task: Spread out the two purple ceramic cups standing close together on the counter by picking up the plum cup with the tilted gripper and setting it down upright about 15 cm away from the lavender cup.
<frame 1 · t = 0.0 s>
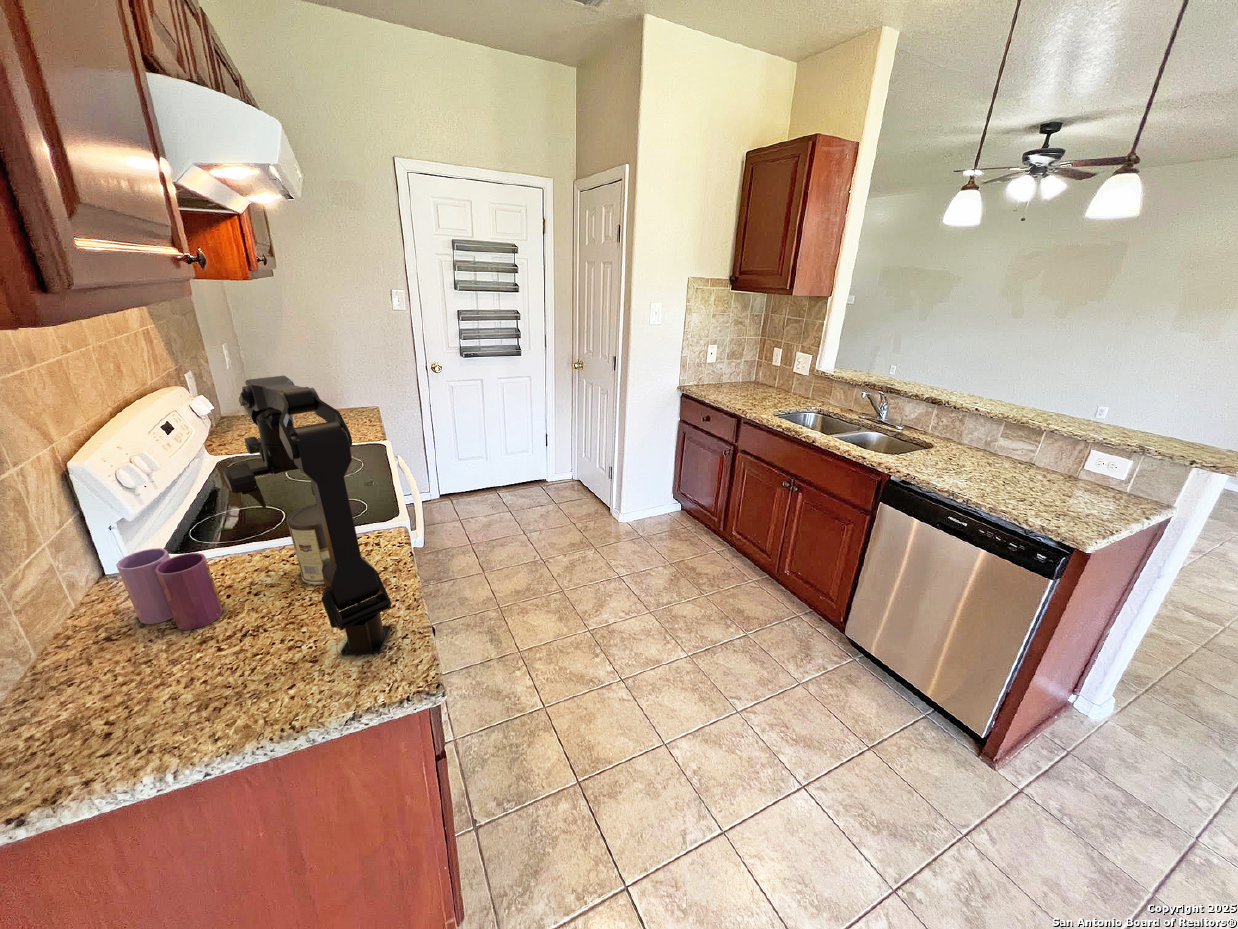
hand: (290, 501, 103), 15 cm above the counter, tool pointing down, fingers open, 9 cm apart
coffee can: (328, 571, 107), on the counter
plum cup: (200, 617, 92), on the counter
lavender cup: (163, 612, 93), on the counter
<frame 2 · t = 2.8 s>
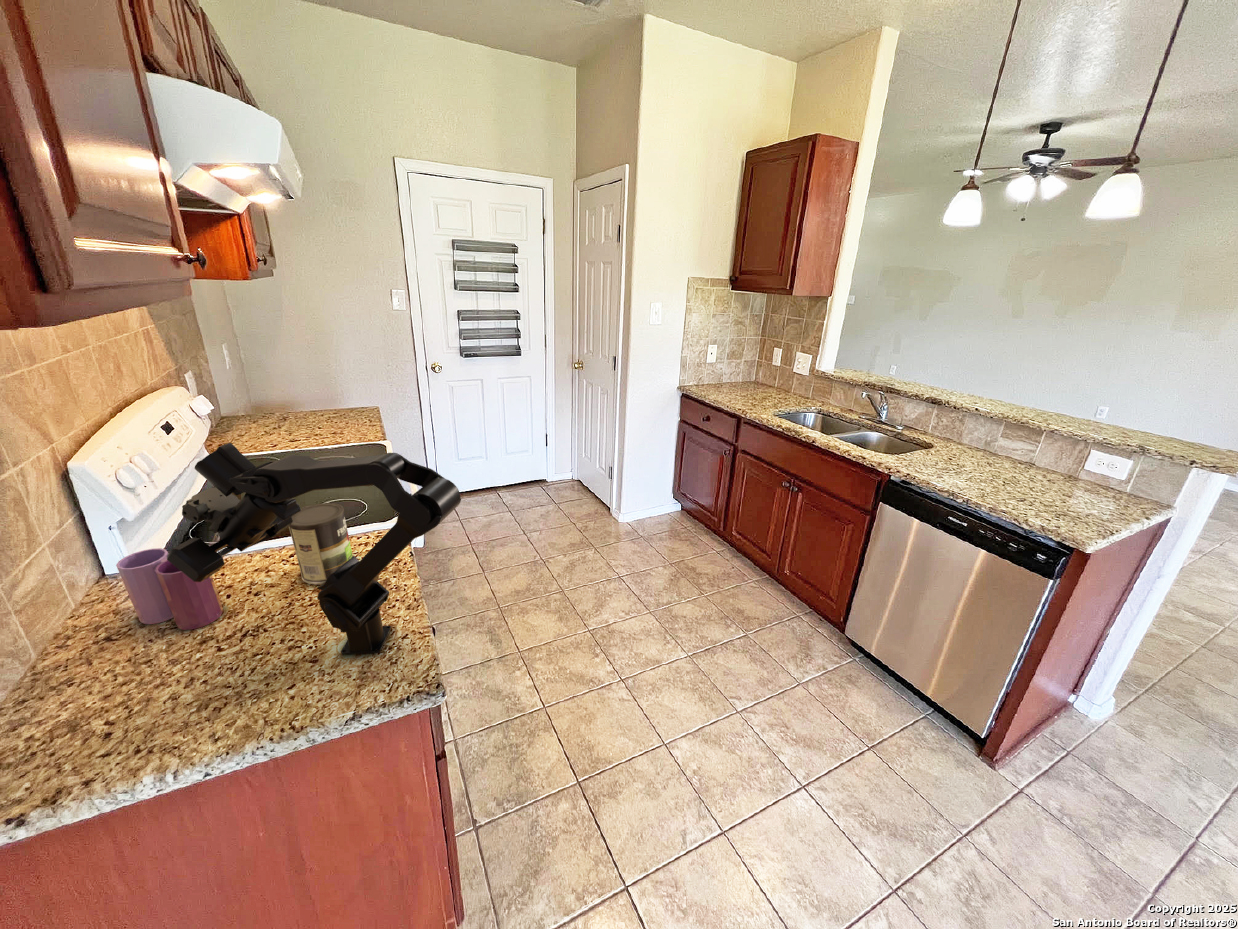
hand: (215, 562, 86), 13 cm above the counter, tool tilted 45°, fingers open, 9 cm apart
nothing on the counter moved.
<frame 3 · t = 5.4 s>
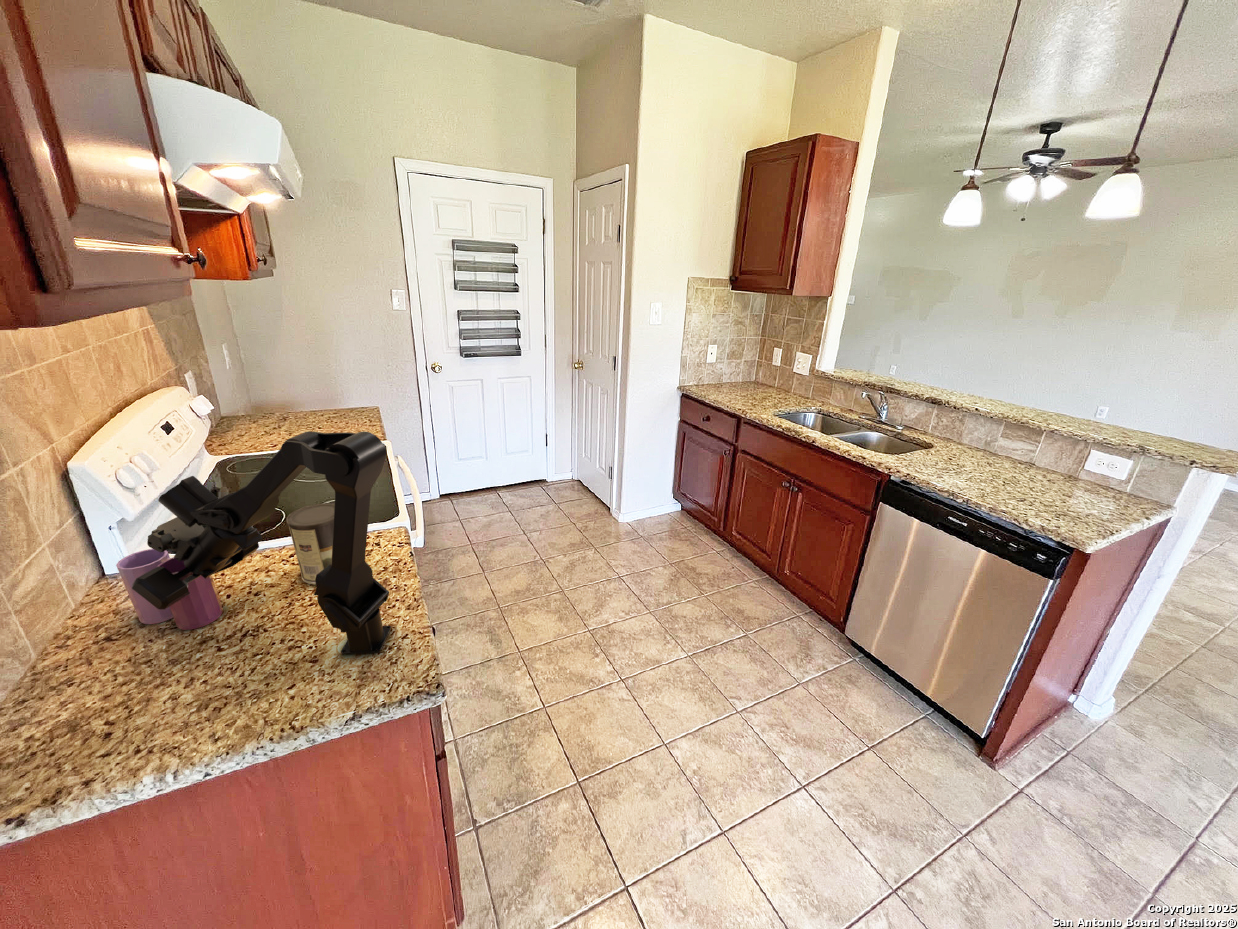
hand: (183, 587, 89), 7 cm above the counter, tool tilted 45°, fingers closed on plum cup, 7 cm apart
plum cup: (200, 617, 92), on the counter, touching gripper
everything else where it was.
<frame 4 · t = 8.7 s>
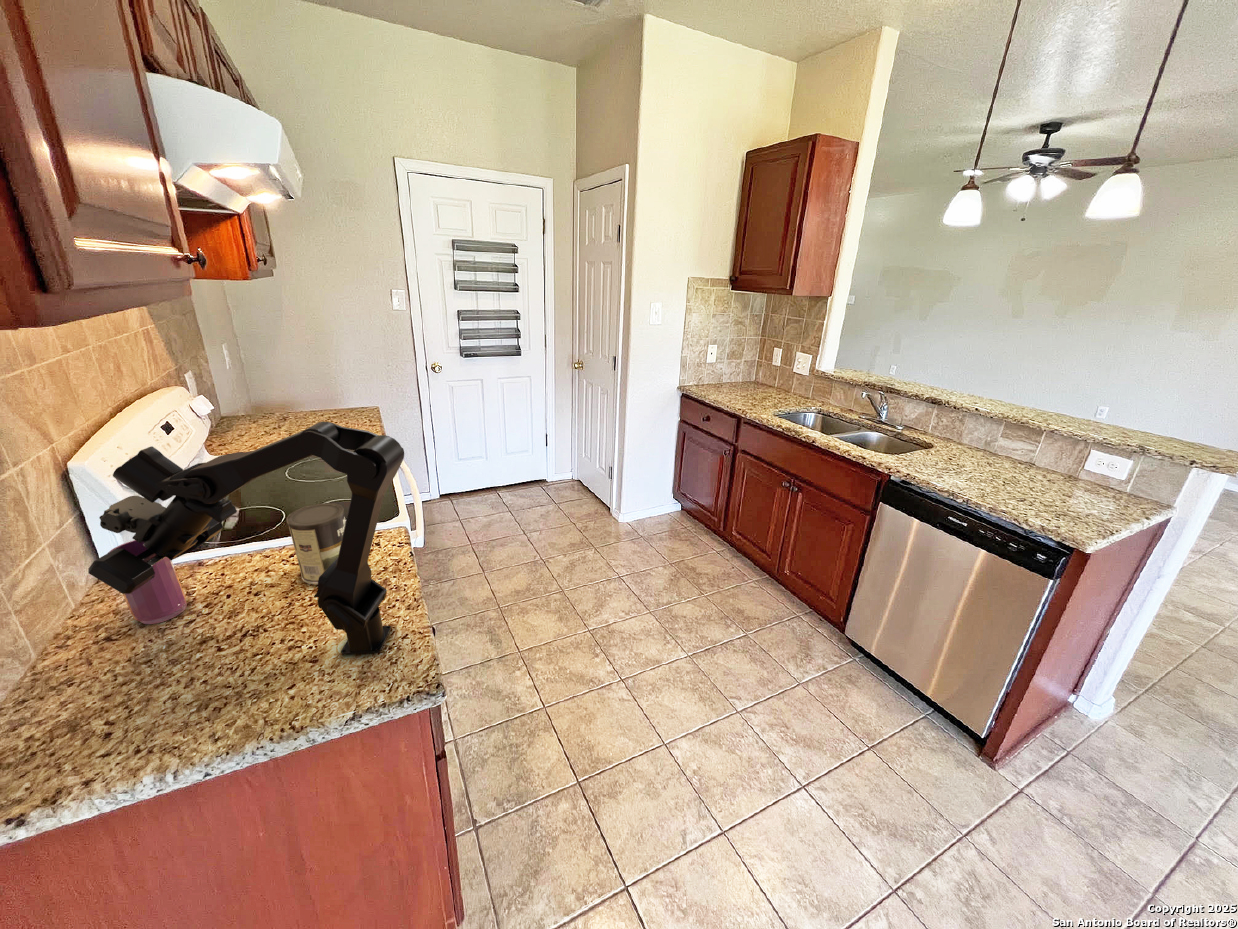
hand: (138, 575, 81), 13 cm above the counter, tool tilted 45°, fingers closed on plum cup, 7 cm apart
plum cup: (160, 608, 84), point 7 cm above the counter, touching gripper
everything else where it was.
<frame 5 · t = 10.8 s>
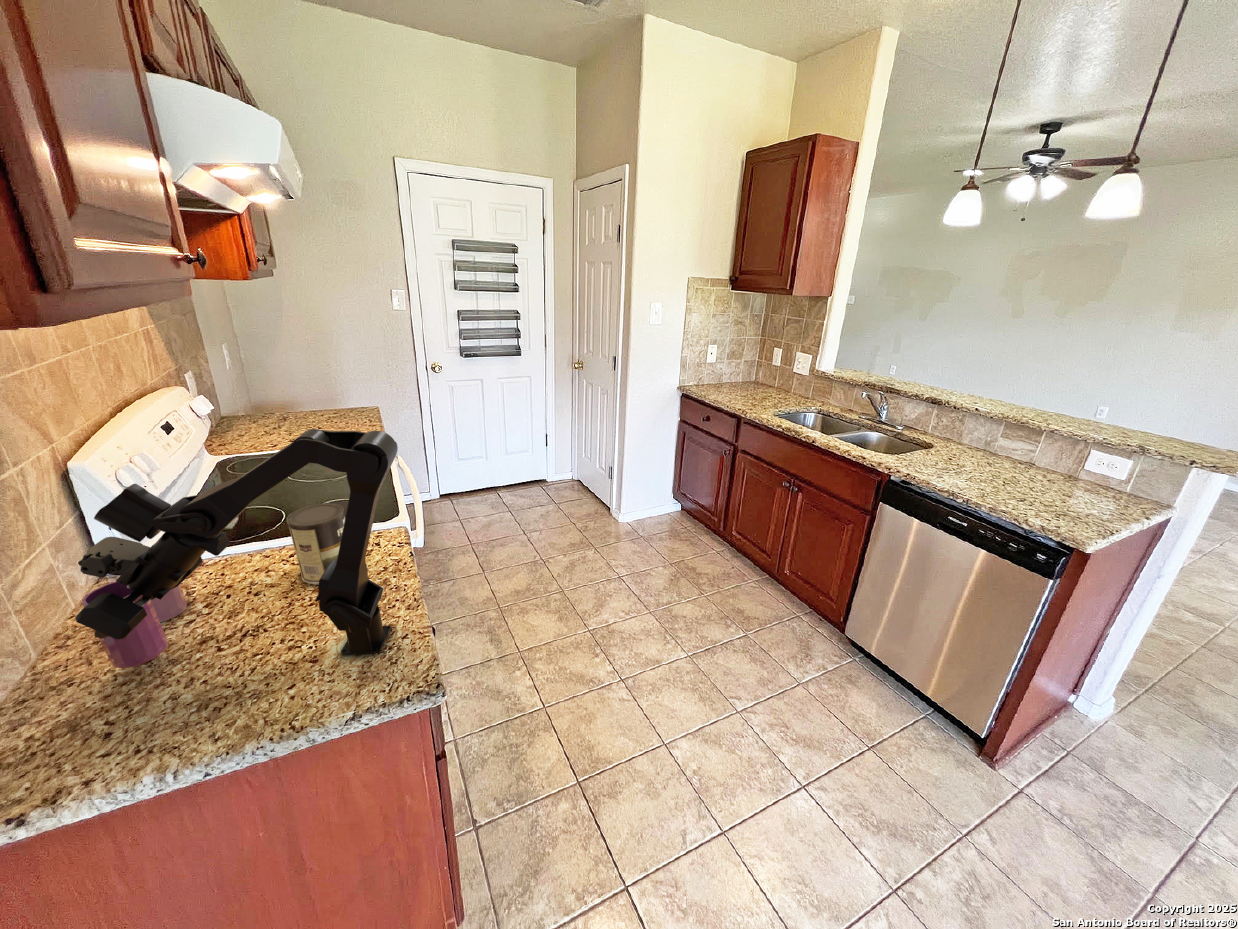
hand: (116, 620, 77), 9 cm above the counter, tool tilted 45°, fingers closed on plum cup, 7 cm apart
plum cup: (140, 652, 80), point 3 cm above the counter, touching gripper
everything else where it was.
when the fingers open (7 cm above the counter, at t = 12.2 s): plum cup stays where it is, on the counter.
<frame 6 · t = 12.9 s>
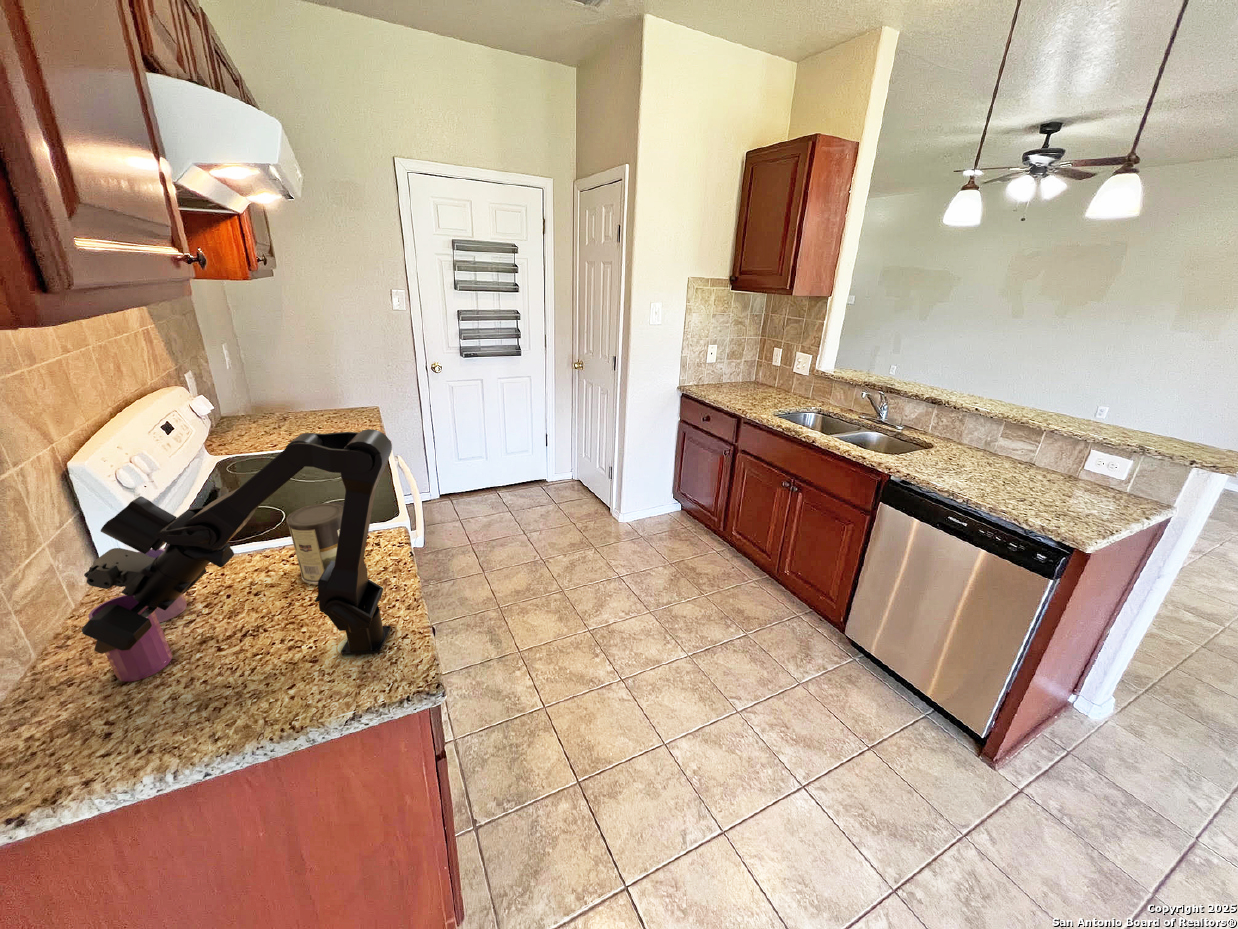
hand: (120, 630, 78), 7 cm above the counter, tool tilted 45°, fingers open, 9 cm apart
plum cup: (145, 665, 81), on the counter
everything else where it was.
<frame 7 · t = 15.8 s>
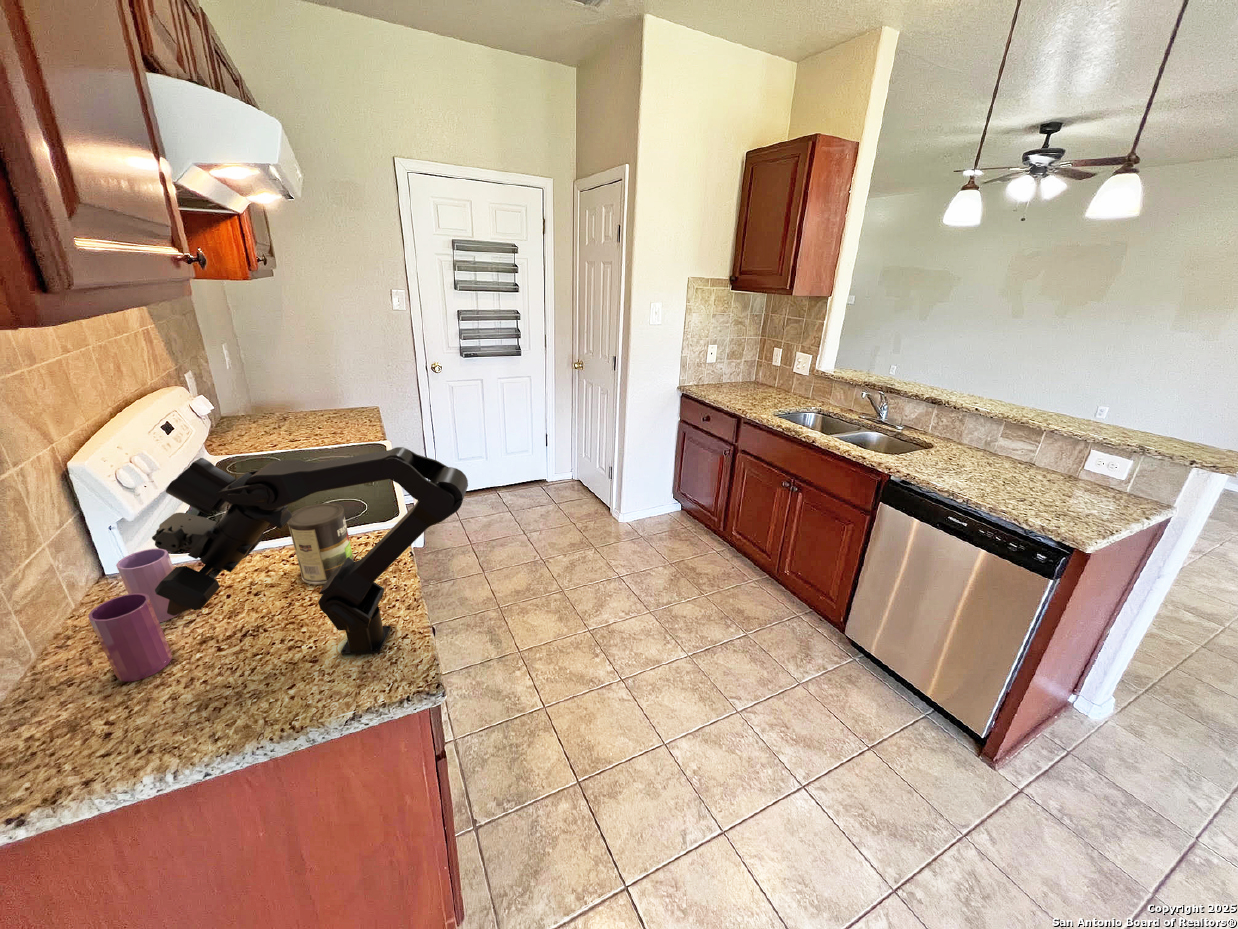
hand: (189, 594, 79), 12 cm above the counter, tool tilted 40°, fingers open, 9 cm apart
nothing on the counter moved.
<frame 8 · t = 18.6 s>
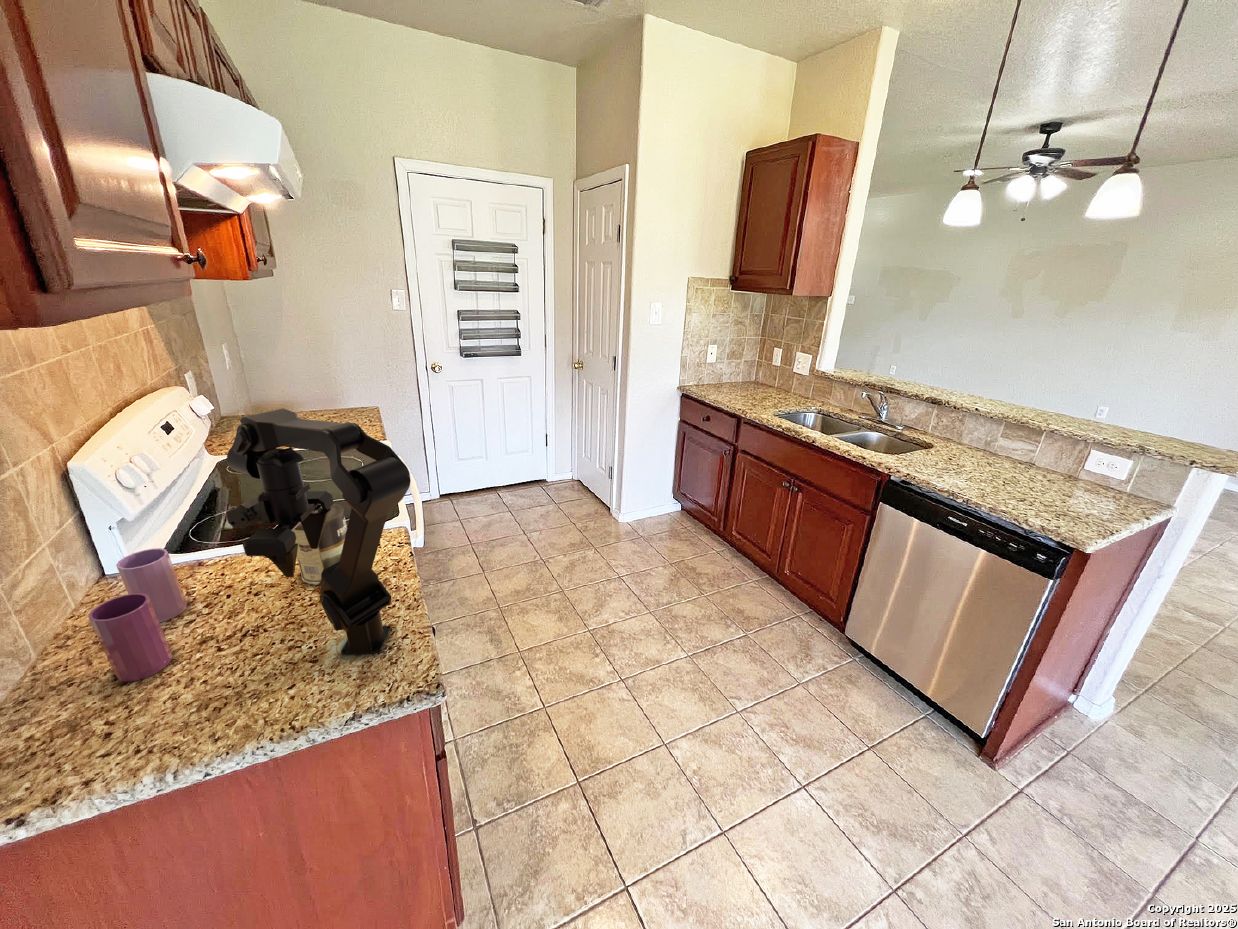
hand: (302, 562, 89), 12 cm above the counter, tool pointing down, fingers open, 9 cm apart
nothing on the counter moved.
at the end: plum cup inside the target area (0.0 cm from its centre), on the counter; plum cup tilted 0°; lavender cup moved 0.0 cm from its start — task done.
